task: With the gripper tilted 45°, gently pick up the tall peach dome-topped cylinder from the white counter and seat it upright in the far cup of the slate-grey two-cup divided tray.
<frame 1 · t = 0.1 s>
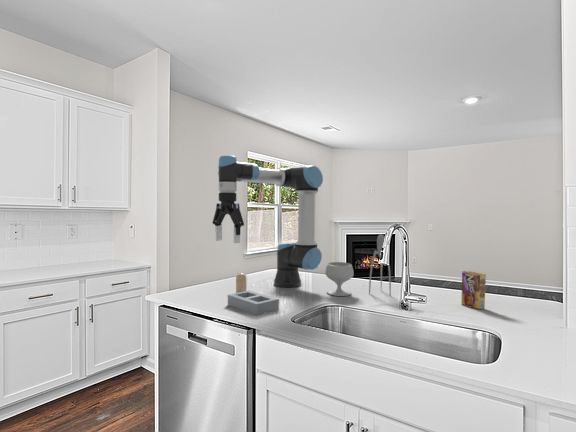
hand: (227, 241, 153), 28 cm above the worktop, tool pointing down, fingers open, 13 cm apart
chalice: (339, 294, 178), on the worktop
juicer: (382, 294, 179), on the worktop
candy box: (472, 307, 158), on the worktop
peach dome-topped cylinder: (241, 295, 172), on the worktop
divided tray: (252, 307, 153), on the worktop
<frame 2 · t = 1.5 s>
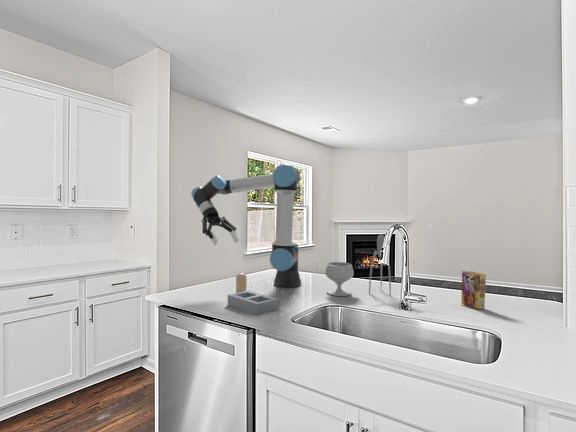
hand: (227, 242, 178), 25 cm above the worktop, tool tilted 45°, fingers open, 13 cm apart
nothing on the worktop moved.
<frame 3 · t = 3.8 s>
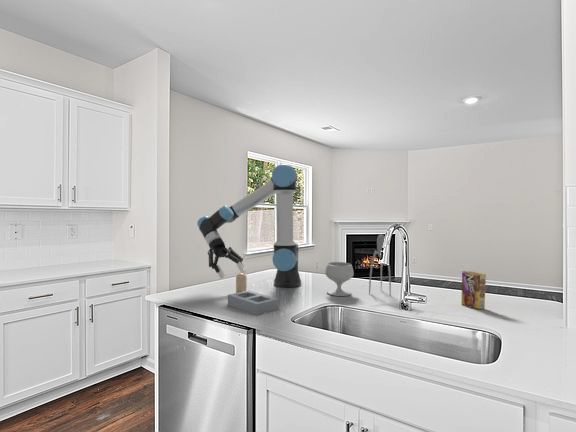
hand: (233, 275, 174), 9 cm above the worktop, tool tilted 45°, fingers open, 13 cm apart
nothing on the worktop moved.
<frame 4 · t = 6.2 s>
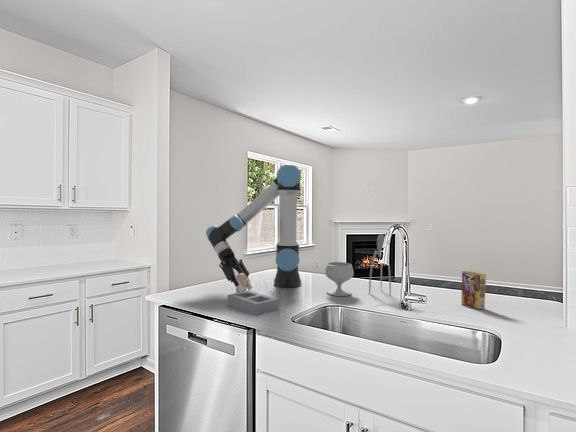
hand: (246, 289, 170), 3 cm above the worktop, tool tilted 45°, fingers closed on peach dome-topped cylinder, 5 cm apart
peach dome-topped cylinder: (241, 295, 172), on the worktop, touching gripper
everything else where it was.
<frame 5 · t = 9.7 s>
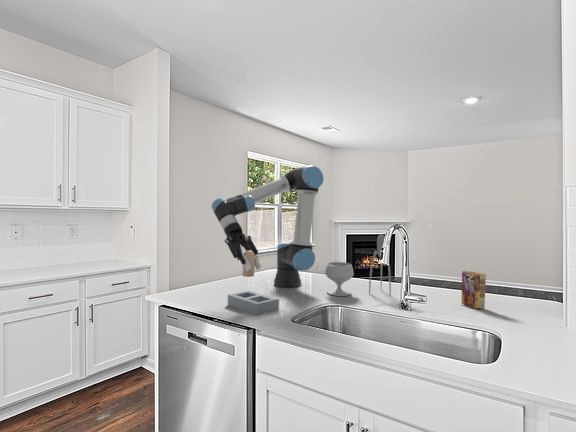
hand: (254, 268, 151), 17 cm above the worktop, tool tilted 45°, fingers closed on peach dome-topped cylinder, 5 cm apart
peach dome-topped cylinder: (248, 275, 154), point 13 cm above the worktop, touching gripper
everything else where it was.
when the fingers open (6 cm above the worktop, at t = 13.2 s): peach dome-topped cylinder drops 2 cm, resting on divided tray.
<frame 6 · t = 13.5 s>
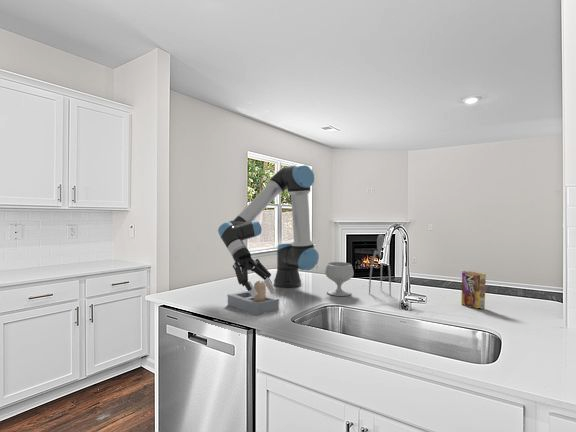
hand: (264, 293, 147), 7 cm above the worktop, tool tilted 45°, fingers open, 10 cm apart
peach dome-topped cylinder: (259, 307, 150), point 1 cm above the worktop, touching divided tray
everything else where it was.
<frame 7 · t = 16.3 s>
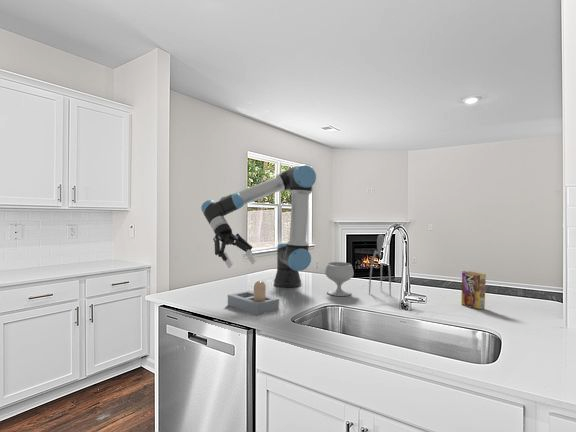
hand: (242, 264, 156), 18 cm above the worktop, tool tilted 45°, fingers open, 13 cm apart
nothing on the worktop moved.
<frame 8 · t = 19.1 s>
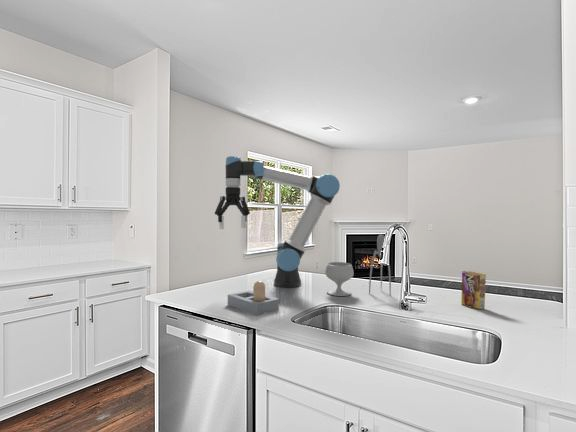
hand: (232, 228, 183), 32 cm above the worktop, tool pointing down, fingers open, 13 cm apart
nothing on the worktop moved.
at the end: peach dome-topped cylinder 0.1 cm from the target spot on the divided tray, point 1.0 cm above the divided tray's base; peach dome-topped cylinder tilted 1°; the gripper is holding nothing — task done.
